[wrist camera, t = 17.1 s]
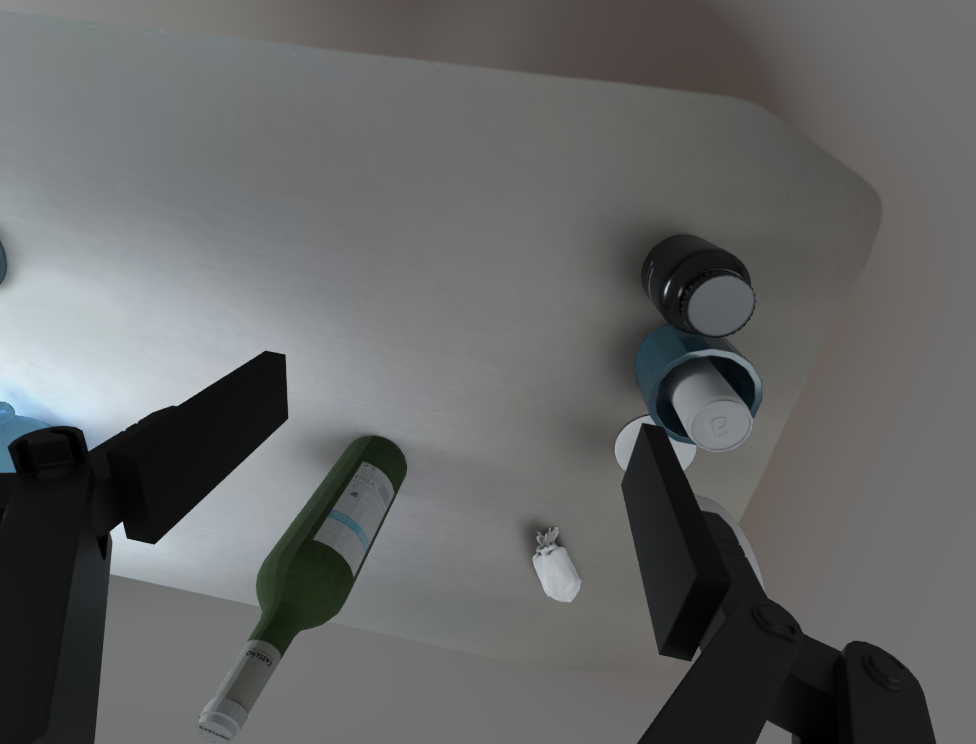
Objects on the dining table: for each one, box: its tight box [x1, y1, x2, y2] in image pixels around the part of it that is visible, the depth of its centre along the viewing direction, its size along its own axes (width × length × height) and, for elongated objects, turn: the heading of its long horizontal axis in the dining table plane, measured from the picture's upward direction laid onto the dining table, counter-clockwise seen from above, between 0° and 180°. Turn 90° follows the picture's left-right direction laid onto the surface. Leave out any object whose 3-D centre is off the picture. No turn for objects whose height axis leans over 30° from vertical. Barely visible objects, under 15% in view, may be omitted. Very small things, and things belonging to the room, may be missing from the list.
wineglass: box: [615, 415, 765, 592], centre depth 41 cm, size 9×9×21 cm
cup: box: [634, 324, 762, 445], centre depth 43 cm, size 9×9×8 cm
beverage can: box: [661, 356, 753, 452], centre depth 40 cm, size 5×5×12 cm
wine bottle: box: [197, 436, 407, 744], centre depth 43 cm, size 8×8×30 cm
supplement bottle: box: [641, 235, 756, 338], centre depth 37 cm, size 7×7×12 cm
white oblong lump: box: [533, 526, 582, 602], centre depth 56 cm, size 5×7×10 cm
